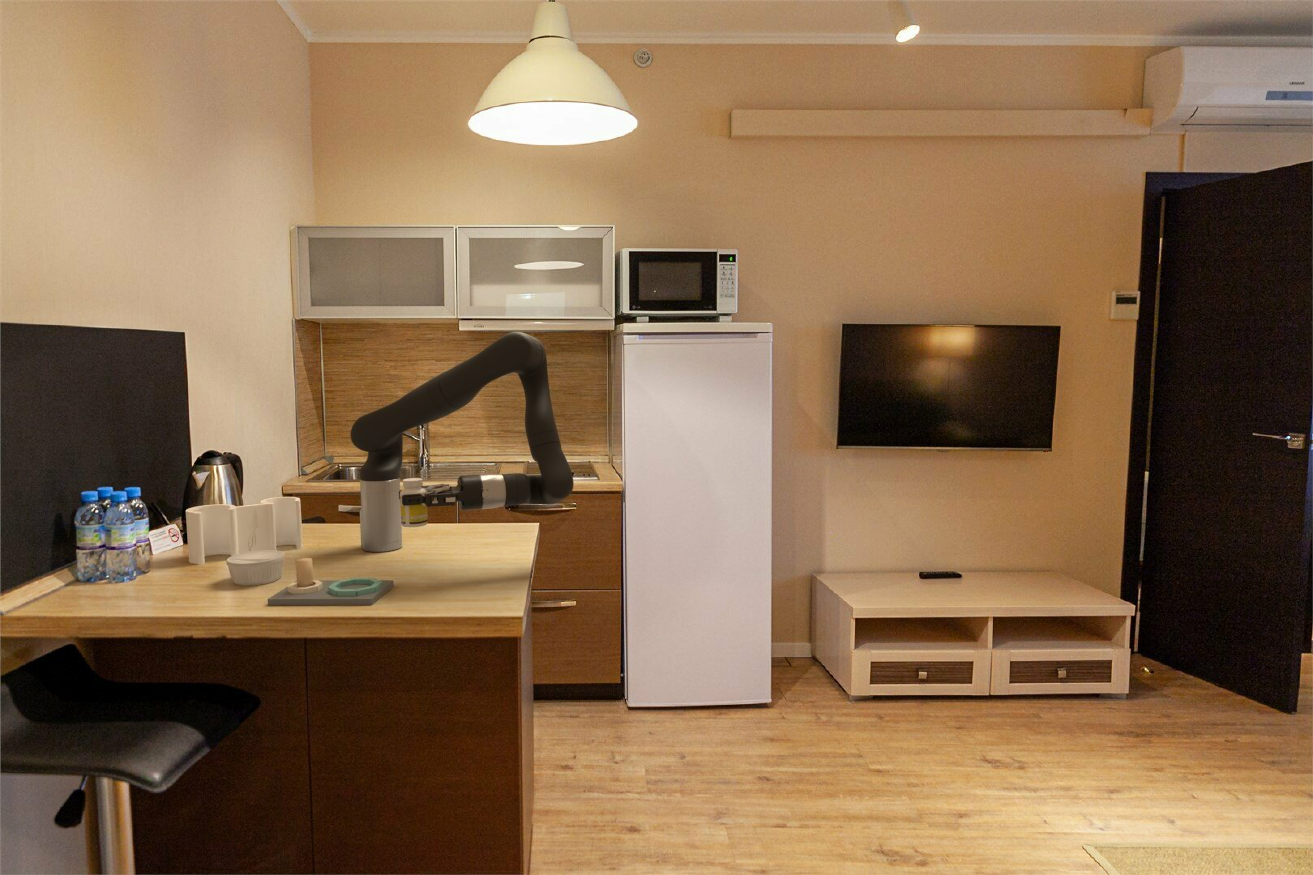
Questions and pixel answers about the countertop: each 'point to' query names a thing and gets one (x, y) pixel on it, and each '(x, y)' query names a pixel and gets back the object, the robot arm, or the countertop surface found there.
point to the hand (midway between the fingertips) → (400, 497)
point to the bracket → (243, 527)
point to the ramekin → (256, 567)
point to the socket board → (329, 589)
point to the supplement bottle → (413, 513)
